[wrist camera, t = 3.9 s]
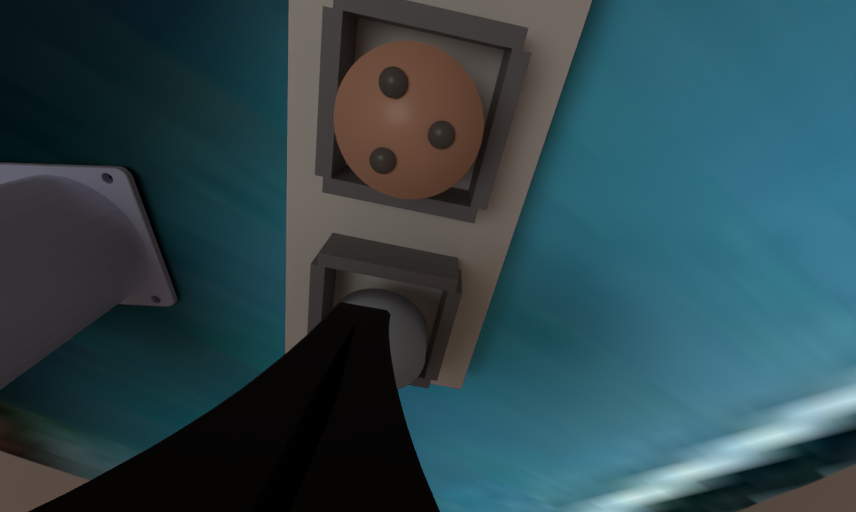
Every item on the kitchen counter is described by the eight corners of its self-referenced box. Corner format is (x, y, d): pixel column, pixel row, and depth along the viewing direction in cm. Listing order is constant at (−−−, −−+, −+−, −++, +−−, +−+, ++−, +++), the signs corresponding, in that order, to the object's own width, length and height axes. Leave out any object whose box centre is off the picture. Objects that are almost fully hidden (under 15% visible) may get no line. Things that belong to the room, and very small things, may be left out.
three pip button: (462, 196, 13) (463, 212, 12) (341, 171, 13) (327, 184, 12) (496, 60, 11) (503, 59, 10) (353, 28, 11) (338, 23, 10)
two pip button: (418, 374, 17) (414, 402, 16) (326, 357, 17) (314, 383, 16) (436, 299, 15) (435, 323, 14) (332, 279, 15) (320, 301, 14)
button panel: (460, 363, 23) (461, 419, 19) (298, 333, 22) (269, 384, 19) (715, -430, 9) (872, -725, 6) (327, -540, 9) (245, -929, 5)
